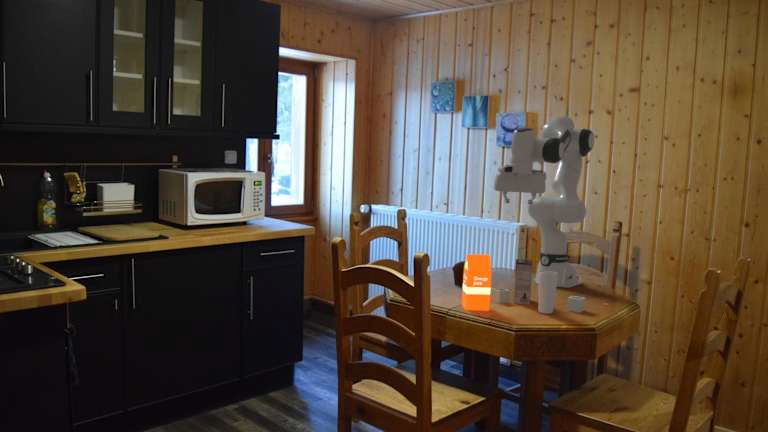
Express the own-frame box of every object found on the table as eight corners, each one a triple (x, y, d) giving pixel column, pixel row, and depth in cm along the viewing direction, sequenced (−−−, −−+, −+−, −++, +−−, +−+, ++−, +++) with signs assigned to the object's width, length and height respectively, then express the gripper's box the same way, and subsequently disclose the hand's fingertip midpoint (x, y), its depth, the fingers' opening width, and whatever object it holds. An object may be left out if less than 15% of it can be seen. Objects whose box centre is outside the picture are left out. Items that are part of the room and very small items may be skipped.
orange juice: (489, 310, 238) (492, 256, 236) (465, 310, 237) (468, 256, 235) (484, 305, 246) (487, 253, 243) (461, 305, 245) (464, 252, 243)
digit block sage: (501, 300, 256) (501, 287, 256) (509, 303, 252) (510, 289, 251) (490, 301, 254) (491, 288, 253) (499, 303, 249) (499, 290, 249)
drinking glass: (533, 310, 241) (536, 270, 240) (551, 310, 242) (554, 270, 240) (539, 314, 235) (542, 273, 233) (557, 315, 235) (560, 274, 234)
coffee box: (513, 298, 260) (515, 258, 258) (529, 299, 259) (532, 259, 257) (513, 303, 251) (515, 262, 249) (530, 304, 250) (532, 263, 248)
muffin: (479, 283, 287) (480, 261, 286) (476, 288, 276) (478, 265, 275) (452, 281, 290) (454, 259, 289) (449, 285, 279) (450, 262, 278)
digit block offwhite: (571, 308, 247) (572, 295, 246) (584, 310, 244) (585, 297, 244) (566, 310, 243) (567, 297, 242) (579, 313, 240) (580, 299, 240)
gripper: (544, 170, 262) (541, 204, 263) (494, 167, 260) (491, 202, 261) (549, 170, 255) (546, 205, 256) (498, 167, 254) (495, 203, 255)
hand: (518, 203), depth 259 cm, fingers open, 8 cm apart
